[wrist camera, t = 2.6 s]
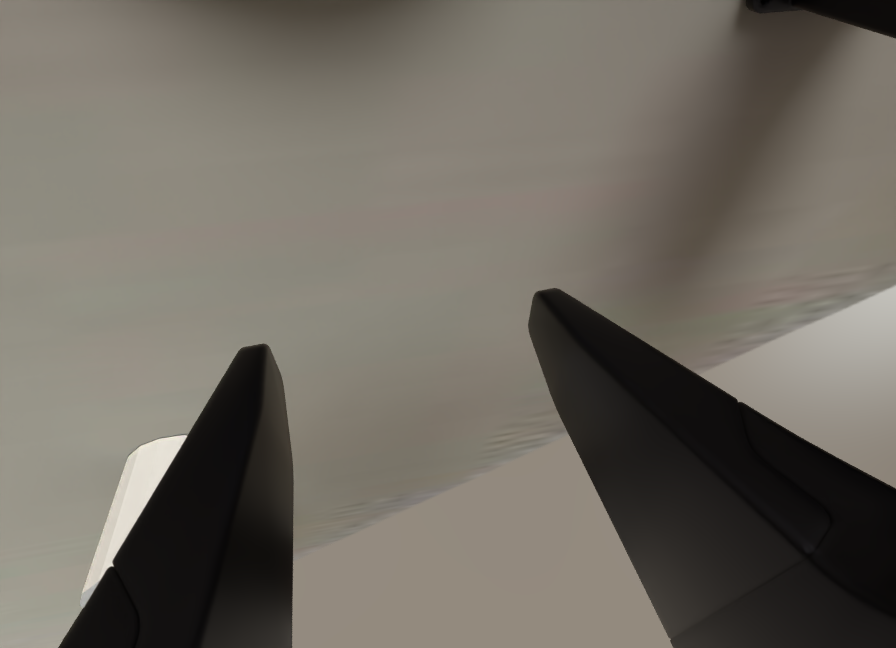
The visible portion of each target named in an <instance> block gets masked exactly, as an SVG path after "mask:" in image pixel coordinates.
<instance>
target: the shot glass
mask: <svg viewBox="0 0 896 648" xmlns="http://www.w3.org/2000/svg"><path fill="white" fill-rule="evenodd" d="M186 437H187V436H186V435H181V436H174V437H167V438H160V439H157V440H154V441H152V442H149V443H147V444H144V445H142V446H140V447H138V448H137V449H136V450H135V451H134V452H133V453H131V454H130V455H129V456H128V459H127V462H126V465H125V468H124V470H123V473H122V476H121V479H120V482H119V485H118V488H117V491H116V494H115V497H114V500H113V503H112V506H111V509H110V512H109V515H108V518H107V521H106V524H105V527H104V530H103V533H102V536H101V538H100V541H99V544H98V547H97V550H96V553H95V556H94V559H93V562H92V565H91V568H90V571H89V574H88V577H87V580H86V583H85V586H84V589H83V592H82V595H81V601H80V606H81V607H82V608H84V606H85V604H86V603H87V601H88V600H89V598H90V596H91V595H92V593H93V591H94V590H95V588H96V586H97V585H98V583H99V581H100V580H101V578H102V577H103V575H104V573H105V572H106V570H107V568H109V567H110V566H113V563H112V561H113V559H114V557H115V555H116V554H117V552H118V550H119V549H120V547H121V545H122V544H123V542H124V540H125V539H126V537H127V535H128V534H129V532H130V530H131V529H132V527H133V525H134V524H135V522H136V521H137V519H138V517H139V516H140V514H141V512H142V511H143V509H144V507H145V506H146V504H147V502H148V501H149V499H150V497H151V496H152V494H153V492H154V491H155V489H156V487H157V486H158V484H159V482H160V481H161V479H162V477H163V476H164V474H165V472H166V471H167V469H168V467H169V466H170V464H171V462H172V461H173V459H174V457H175V456H176V454H177V452H178V451H179V449H180V447H181V446H182V444H183V442H184V441H185V439H186Z"/></svg>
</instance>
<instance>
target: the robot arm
mask: <svg viewBox="0 0 896 648" xmlns="http://www.w3.org/2000/svg"><path fill="white" fill-rule="evenodd" d="M746 6H747V8H748V9H749V10H751V11H754V12H757V13H770V12H783V11H795V10H806V11H809V12H812V13H816V14H819V15H822V16H825V17H828V18H832V19H835V20H838V21H841V22H844V23H848V24H851V25H854V26H857V27H860V28H864V29H867V30H870V31H873V32H876V33H880V34H883V35H886V36H889V37H893V38H896V0H746ZM528 328H529V334H530V337H531V340H532V343H533V346H534V348H535V351H536V354H537V357H538V360H539V363H540V365H541V368H542V371H543V374H544V377H545V379H546V382H547V385H548V388H549V391H550V394H551V396H552V399H553V401H554V404H555V406H556V409H557V411H558V413H559V415H560V417H561V419H562V421H563V423H564V425H565V427H566V430H567V432H568V434H569V436H570V437H571V440H572V442H573V444H574V446H575V448H576V450H577V452H578V454H579V455H580V458H581V460H582V462H583V464H584V466H585V468H586V470H587V472H588V474H589V476H590V478H591V480H592V482H593V484H594V486H595V489H596V491H597V492H598V495H599V497H600V499H601V501H602V502H603V505H604V507H605V509H606V511H607V513H608V515H609V517H610V519H611V521H612V523H613V525H614V527H615V529H616V531H617V533H618V535H619V537H620V539H621V541H622V543H623V545H624V547H625V550H626V552H627V554H628V556H629V558H630V560H631V562H632V564H633V566H634V568H635V570H636V572H637V574H638V576H639V578H640V580H641V582H642V584H643V586H644V588H645V590H646V592H647V594H648V596H649V598H650V600H651V602H652V604H653V606H654V609H655V610H656V613H657V615H658V617H659V618H660V621H661V623H662V625H663V627H664V629H665V630H666V633H667V635H668V637H669V638H670V639H671V640H670V641H671V644H672V646H673V648H896V489H895V488H893V487H892V486H890V485H888V484H886V483H884V482H882V481H880V480H879V479H877V478H875V477H873V476H871V475H869V474H867V473H865V472H863V471H861V470H860V469H858V468H856V467H854V466H852V465H850V464H848V463H846V462H844V461H843V460H841V459H839V458H837V457H835V456H833V455H832V454H830V453H828V452H826V451H824V450H823V449H821V448H819V447H817V446H815V445H813V444H812V443H810V442H808V441H806V440H804V439H803V438H801V437H799V436H797V435H796V434H794V433H792V432H791V431H789V430H787V429H786V428H784V427H782V426H781V425H779V424H777V423H776V422H774V421H772V420H770V419H769V418H767V417H765V416H764V415H762V414H761V413H759V412H757V411H755V410H754V409H752V408H751V407H749V406H748V405H746V404H744V403H742V402H738V401H737V399H736V398H734V397H733V396H731V395H730V394H728V393H726V392H725V391H723V390H721V389H720V388H718V387H717V386H715V385H713V384H712V383H710V382H708V381H707V380H705V379H704V378H702V377H701V376H699V375H697V374H696V373H694V372H692V371H691V370H689V369H688V368H686V367H684V366H683V365H681V364H680V363H678V362H676V361H675V360H673V359H671V358H670V357H668V356H667V355H665V354H663V353H662V352H660V351H659V350H657V349H655V348H654V347H652V346H651V345H649V344H647V343H646V342H644V341H642V340H641V339H639V338H638V337H636V336H634V335H633V334H631V333H630V332H628V331H626V330H625V329H623V328H621V327H620V326H618V325H617V324H615V323H613V322H612V321H610V320H609V319H607V318H605V317H604V316H602V315H600V314H599V313H597V312H596V311H594V310H592V309H591V308H589V307H588V306H586V305H584V304H583V303H581V302H580V301H578V300H576V299H575V298H573V297H571V296H570V295H568V294H567V293H565V292H563V291H562V290H560V289H557V288H552V289H547V290H542V291H538V292H536V293H535V294H534V297H533V301H532V306H531V312H530V317H529V323H528ZM293 484H294V482H293V461H292V451H291V443H290V434H289V426H288V418H287V410H286V402H285V393H284V386H283V381H282V377H281V374H280V371H279V369H278V366H277V364H276V361H275V359H274V357H273V354H272V352H271V349H270V347H269V346H268V345H267V344H258V345H253V346H248V347H243V348H241V349H240V350H239V351H238V353H237V354H236V356H235V358H234V359H233V361H232V363H231V364H230V366H229V368H228V369H227V371H226V373H225V374H224V376H223V378H222V379H221V381H220V383H219V384H218V386H217V388H216V389H215V391H214V393H213V394H212V396H211V398H210V399H209V401H208V403H207V404H206V406H205V408H204V409H203V411H202V413H201V414H200V416H199V418H198V419H197V421H196V422H195V424H194V426H193V427H192V429H191V431H190V432H189V434H188V436H187V437H186V439H185V441H184V442H183V444H182V446H181V447H180V449H179V451H178V452H177V454H176V456H175V457H174V459H173V461H172V462H171V464H170V466H169V467H168V469H167V471H166V472H165V474H164V476H163V477H162V479H161V481H160V482H159V484H158V486H157V487H156V489H155V491H154V492H153V494H152V496H151V497H150V499H149V501H148V502H147V504H146V506H145V507H144V509H143V511H142V512H141V514H140V516H139V517H138V519H137V521H136V522H135V524H134V525H133V527H132V529H131V530H130V532H129V534H128V535H127V537H126V539H125V540H124V542H123V544H122V545H121V547H120V549H119V550H118V552H117V554H116V555H115V557H114V559H113V561H112V563H113V566H110V567H109V568H107V570H106V572H105V573H104V575H103V577H102V578H101V580H100V581H99V583H98V585H97V586H96V588H95V590H94V591H93V593H92V595H91V596H90V598H89V600H88V601H87V603H86V604H85V606H84V608H83V609H82V611H81V612H80V614H79V616H78V617H77V619H76V620H75V622H74V623H73V625H72V627H71V628H70V630H69V631H68V633H67V635H66V636H65V638H64V639H63V641H62V642H61V644H60V646H59V647H58V648H292V596H293V595H292V594H293V593H292V591H293Z"/></svg>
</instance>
